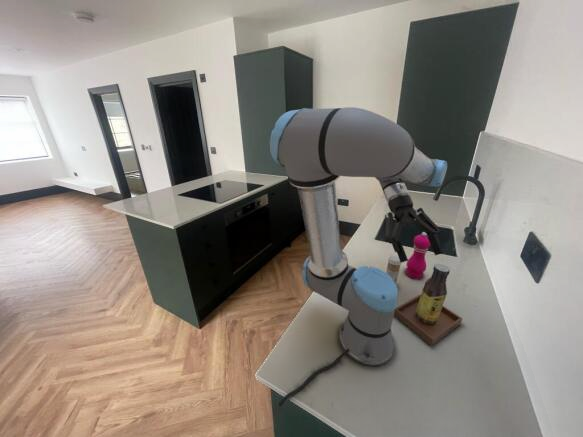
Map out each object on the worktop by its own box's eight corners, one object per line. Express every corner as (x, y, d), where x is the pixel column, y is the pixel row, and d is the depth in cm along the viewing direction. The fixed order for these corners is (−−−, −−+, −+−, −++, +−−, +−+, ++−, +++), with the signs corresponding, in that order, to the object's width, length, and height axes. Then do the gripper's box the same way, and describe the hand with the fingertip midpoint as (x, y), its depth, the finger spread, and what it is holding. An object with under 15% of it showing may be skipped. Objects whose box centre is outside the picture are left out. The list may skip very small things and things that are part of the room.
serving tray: (431, 346, 67) (433, 339, 66) (393, 314, 78) (394, 308, 76) (460, 324, 74) (462, 318, 72) (421, 298, 84) (423, 292, 83)
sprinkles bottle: (390, 281, 93) (395, 253, 88) (398, 288, 89) (405, 259, 84) (380, 283, 92) (386, 255, 86) (389, 291, 88) (395, 262, 82)
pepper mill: (426, 280, 93) (438, 237, 85) (407, 278, 94) (417, 235, 86) (420, 269, 100) (431, 228, 91) (402, 268, 101) (412, 227, 93)
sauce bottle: (428, 328, 71) (445, 277, 63) (411, 314, 77) (424, 265, 68) (441, 320, 74) (459, 270, 66) (423, 307, 79) (437, 259, 71)
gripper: (372, 197, 74) (396, 262, 67) (434, 190, 80) (462, 248, 73) (361, 207, 81) (382, 267, 74) (419, 199, 87) (443, 253, 80)
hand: (422, 258), depth 73 cm, fingers open, 13 cm apart
